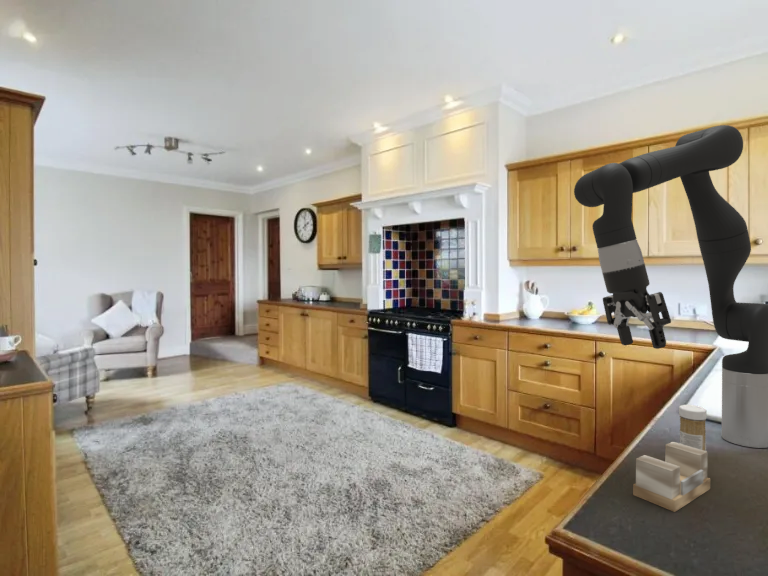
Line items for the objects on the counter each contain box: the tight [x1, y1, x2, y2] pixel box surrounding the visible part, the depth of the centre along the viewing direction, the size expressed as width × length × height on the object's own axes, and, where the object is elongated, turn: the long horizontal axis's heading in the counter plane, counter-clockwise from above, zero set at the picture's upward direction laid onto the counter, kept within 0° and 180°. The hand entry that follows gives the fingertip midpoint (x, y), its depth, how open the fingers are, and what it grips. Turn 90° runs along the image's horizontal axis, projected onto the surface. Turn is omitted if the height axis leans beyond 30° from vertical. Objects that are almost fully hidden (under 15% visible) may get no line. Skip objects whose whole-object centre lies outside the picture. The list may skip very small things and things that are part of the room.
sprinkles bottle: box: [678, 404, 708, 451], centre depth 88 cm, size 5×5×14 cm
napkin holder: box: [632, 441, 711, 513], centre depth 81 cm, size 14×7×7 cm, turn 122°
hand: (643, 346), depth 85 cm, fingers open, 8 cm apart
